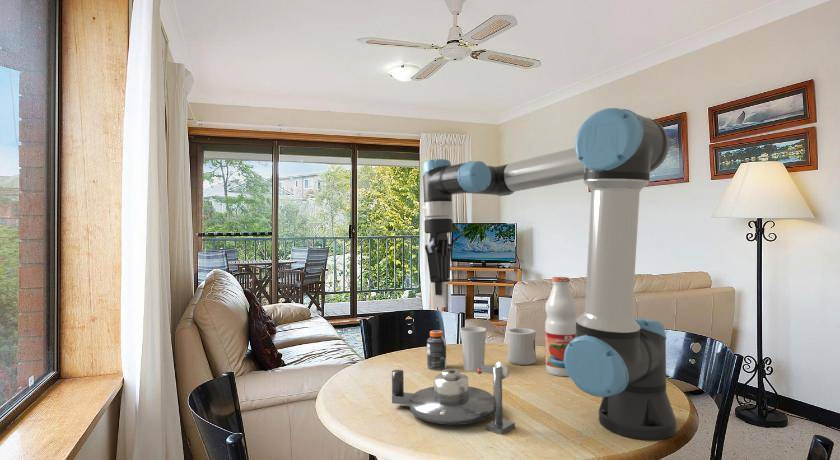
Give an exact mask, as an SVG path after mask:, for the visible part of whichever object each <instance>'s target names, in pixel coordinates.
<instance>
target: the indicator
mask: <svg viewBox="0 0 840 460" xmlns="http://www.w3.org/2000/svg"><path fill="white" fill-rule="evenodd" d="M476 373H477V374H479V375H480V374H482V373H485V374H490V375H493V376H492V377H493V396H494V414H493V420H492V421H490V422H487V423H486V424H485V430H487V431H488V432H489V431H490V432H492V433H495V434H497V435H498V434H499V435H500V436H502V435H504V434H506V433H507V432H509V431H511V430H513V429H514V428H515V427H516V422H514V421H512V420H511V421H510V420H508V419H504V417H503V380H504V379H507V378H508V377H509V374H510V368H509V366H508V365H507V363H506V362H504V361H498V362H495V363H494V364H493V366H491V365H486V364H484V365H482V366H481V368H478V369H477V371H476Z"/></svg>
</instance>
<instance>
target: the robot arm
mask: <svg viewBox="0 0 840 460" xmlns="http://www.w3.org/2000/svg"><path fill="white" fill-rule="evenodd" d="M669 150H670V139H669V136H668V133H667V131H666V129H665V127H663V126H662V125H661V124H660V123H659V122H658V121H656V120H653V119H652V118H649V117H646V116H642V115H640V114H637V113H636V112H634V111H632V110H630V109H627V108H626V109H625V108H618V107H608V108H603V109H601V110H599V111H596V112H595V113H592V114H591V115H590V116H589V117H588V118H587V119H586V120H585V121H584V122H583V123H582V124H581V126H580V127H579V128H578V131H577V133H576V137H575V141H574V147H573V148H569V149H564V150H560V151H556V152H551V153H548V154H543V155H538V156H536V157H532V158H527V159H523V160H518V161H515V162H509V163H507V164H503V165H497V166H493V165H487V164H486V163H485V162H484V161H481V160H476V161H473V160H472V161H471V160H470V161H467V162H464V163H463V162H462V163H458V164H452V163H451V161H450V160H449V159H442V158H436V159H428V160H426V161H425V162H424V163H423V165H422V166H423V167H422V169H423V170H422V182H423V183H422V185H423V208H422V209H423V212H424V218H426V219H425V220H424V222H423V223H424V233H425V234H429V239H428V242H429V243H428V244H425V245H424V249H425V252H426V259H427V265H428V266H427V267H428V272H429V280H430V283H431V284H432V283H433V284H434V306H435V307H434V308H444V309H445V308H447V305H448V304H447V283H450V273H451V262H452V261H451V260H452V259H451V257H452V249H453V244H452V243H449V236H448V233H449V234H450V233H453V232H454V227H453V219H452V218H451V217H453V195H459V194H476V195H492V196H498V197H499V196H500V197H502V196H503V197H504V196H505V197H506V196H509V195H512V194H515V192H519V191H526V190H531V189H535V188H542V187H546V186H551V185H557V184H563V183H569V182H575V181H579V180H583V184H584V185H586V186H587V187H588V188H589V189H590V192H591V193H590V195H591V196H590V207H589V208H590V212H589V226H588V227H589V228H588V229H589V231H588V232H589V233H588V247H587V248H588V250H587V265H586V281H585V282H586V283H585V284H586V285H585V298H584V299H585V300H584V301H585V302H584V312H583V313H582V314H580V315H579V316H578V317H577V318H576V334H575V338H574V339H573V340H572V341H571V342H570V343H569V344H568V345H567V347H566V349H565V352H564V364H565V368H566V371H567V373H568V375H569V376H568V377H569V379H571V380H572V381H573V383H574V385H575V386H576V387H577V388H578V389H579V390H581V391H583V392H584V393H586V394H587V395H590V396H593V397H597V398H602V399H601V402H600V405H599V408H598V421H599V425H601V426H602V427H603V428H604V429H606V430H608V431H610V432H612V433H615V434H618V435H621V436H624V437H628V438H631V439H639V440H647V441H648V440H655V441H656V440H665V439H668V438H672V437H673V436H675V435H676V433H677V419H676V415H675V413H674V411H673V410H674V409H673V407H672V404H671V402H670V399H669V397H668V394H667V355H666V354H667V349H666V347H667V346H666V343H667V342H666V340H667V336H666V328H665V327H666V326H665V325H664V323H663V322H661V321H660V320H656V319H651V318H650V319H649V318H644V317H643V318H641V317H633V307H634V306H633V305H634V292H635V291H634V290H635V277H636V276H635V274H636V259H637V258H636V257H637V245H638V244H637V242H638V241H637V240H638V238H637V237H638V226H639V225H638V224H639V209H640V208H639V207H640V193H641V191H642V190H643V189H644V188H645V187H646V186H647V185H648V184H649V183H650V179H651V178H650V176H651V173H652V172H653V171H655V170H656V169H658V168H659V167H660V166H661V165H662V164H663V163H664V161H665V160H666V158H667V156H668V154H669Z"/></svg>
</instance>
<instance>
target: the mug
mask: <svg viewBox="0 0 840 460" xmlns="http://www.w3.org/2000/svg"><path fill="white" fill-rule="evenodd" d="M536 333H537V331H536V330H535V329H532V328H526V327H513V328H509V329H508V330H507V336H508V337H507V338H508V351H507V352H508V353H507V361H508V362H509V363H511V364H513V365H517V366H518V365H519V366H529V365H534V364H536V362H537V352H536V335H537V334H536Z"/></svg>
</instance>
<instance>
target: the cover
mask: <svg viewBox="0 0 840 460" xmlns="http://www.w3.org/2000/svg"><path fill="white" fill-rule="evenodd" d="M468 386H469V376H467V375H466V374H463V373H461V370H460V369H456V368H445V369H441V373H439V374H437V375H435V376H434V377H433V387H434V400H435V402H437V403H438V404H441V405H447V406H457V405H462V404H465V403H467V402H468V401H469V388H468Z"/></svg>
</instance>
